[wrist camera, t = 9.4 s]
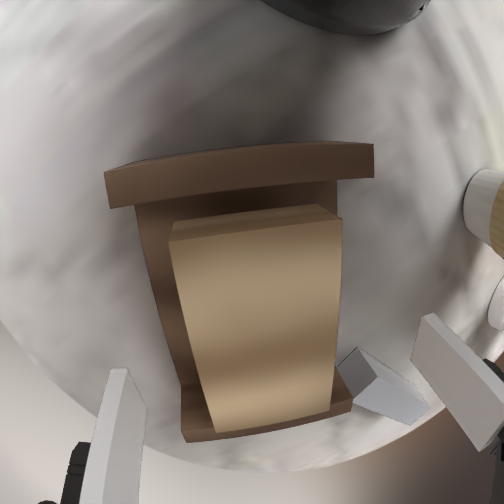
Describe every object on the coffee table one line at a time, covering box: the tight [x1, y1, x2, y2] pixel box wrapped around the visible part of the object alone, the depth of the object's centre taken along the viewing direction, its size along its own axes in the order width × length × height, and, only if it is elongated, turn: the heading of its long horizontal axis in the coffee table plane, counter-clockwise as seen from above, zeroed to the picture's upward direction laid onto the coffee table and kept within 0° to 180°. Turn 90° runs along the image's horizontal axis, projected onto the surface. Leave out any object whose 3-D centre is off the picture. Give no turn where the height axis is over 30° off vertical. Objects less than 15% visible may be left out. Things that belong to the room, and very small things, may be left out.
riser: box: [336, 347, 431, 426], centre depth 25 cm, size 12×3×4 cm, turn 51°
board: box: [168, 204, 342, 433], centre depth 15 cm, size 12×7×3 cm, turn 6°
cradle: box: [104, 141, 374, 443], centre depth 18 cm, size 18×12×6 cm, turn 6°
